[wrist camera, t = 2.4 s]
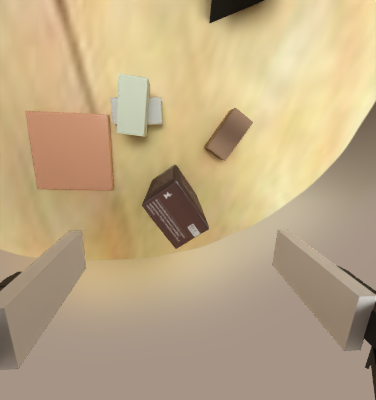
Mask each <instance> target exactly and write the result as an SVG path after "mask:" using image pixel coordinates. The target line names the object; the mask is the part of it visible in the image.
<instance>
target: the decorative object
mask: <svg viewBox="0 0 376 400" xmlns="http://www.w3.org/2000/svg"><path fill="white" fill-rule="evenodd" d="M262 1H264V0H212V4H211V14H210V23H212V22H214V21H217V20H219V19H221V18H224V17H226V16H228V15H231V14H233V13H236V12H238V11H240V10H243V9H245V8H247V7H250V6H252V5H255V4H257V3H259V2H262Z"/></svg>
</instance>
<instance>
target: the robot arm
mask: <svg viewBox="0 0 376 400" xmlns="http://www.w3.org/2000/svg"><path fill="white" fill-rule="evenodd" d="M272 265H273V266H274V267H275V268H276V270H277V271H278V272H279V273H280V275H281V276H282V277H283V278H284V279H285V281H286V282H287V283H288V284H289V286H290V287H291V288H292V289H293V290H294V292H295V293H296V294H297V295H298V296H299V297H300V299H301V300H302V301H303V302H304V303H305V305H306V306H307V307H308V308H309V309H310V311H311V312H312V313H313V314H314V316H315V317H316V318H317V319H318V320H319V321H320V322H321V324H322V325H323V326H324V327H325V329H326V330H327V331H328V332H329V333H330V335H331V336H332V337H333V338H334V339H335V341H336V342H337V343H338V344H339V346H340V347H341V348H342V349H343V350H344V351H352V350H361V347H362V344H363V340H364V339H365V340H366V341H367V342H368V343H369V344H370V345H371V346H372V347H371V350H370V353H369V357H368V359H367V363H366V366H365V368H367V369H369V366H370V365H371V368H372V376H373V385H374V393H375V400H376V291H375V290H373V289H372V288H371V287H369V286H368V285H366V284H365V283H363V282H362V281H361V280H360V279H358V278H356V277H355V276H354V275H353V274H351V273H350V272H349V271H347V270H345V269H343V268H341V267H339V266H337V265H335V264H333V263H332V262H331V261H329V260H328V259H327V258H325V257H324V256H323V255H321V254H320V253H319V252H317V251H316V250H315V249H313V248H312V247H310V246H309V245H308V244H306V243H305V242H304V241H302V240H301V239H300V238H298V237H297V236H296V235H294V234H293V233H292V232H290V231H289V230H278V231H277V238H276V244H275V251H274V258H273V264H272ZM85 269H86V264H85V254H84V245H83V235H82V231H69V232H67V233H66V234H65V235H64V236H63V237H62V238H61V239H59V240H58V241H57V242H56V243H55V244H54V245H53V246H51V247H50V248H49V249H48V250H47V251H46V252H45V253H43V254H42V255H41V256H40V257H39V258H38V259H37V260H36V261H34V262H33V263H32V264H31V265H30V266H29V267H27V268H26V269H25V270H24V271H23V272H17V273H15V274H13V275H11V276H9V277H7V278H6V279H5V280H3V281H2V282H1V283H0V370H10V369H19V368H20V366H21V365H22V363H23V362H24V360H25V359H26V357H27V356H28V354H29V353H30V351H31V350H32V348H33V347H34V345H35V344H36V342H37V341H38V339H39V338H40V336H41V335H42V333H43V332H44V330H45V329H46V327H47V326H48V324H49V323H50V321H51V320H52V318H53V317H54V315H55V314H56V312H57V311H58V309H59V308H60V306H61V305H62V303H63V302H64V300H65V299H66V297H67V296H68V294H69V293H70V291H71V290H72V288H73V287H74V285H75V284H76V282H77V281H78V280H79V278H80V277H81V275H82V273H83V272H84V271H85Z"/></svg>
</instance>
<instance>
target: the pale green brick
mask: <svg viewBox="0 0 376 400" xmlns="http://www.w3.org/2000/svg"><path fill="white" fill-rule="evenodd" d="M149 95H150V83H149V81H148V78H145V77H139V76H132V75H126V74H120V73H119V79H118V108H117V133H121V134H128V135H136V136H144V137H147V124H148V109H149Z"/></svg>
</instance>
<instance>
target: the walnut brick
mask: <svg viewBox="0 0 376 400" xmlns="http://www.w3.org/2000/svg"><path fill="white" fill-rule="evenodd" d="M252 123H253V122H252V121H251V120H250V119H249V118H247V117H246V116H245V115H244V114H243V113H241V112H240V111H239V110H238V109H237V108H234V109H232V110H230V111H229V112H228V114H227V115H226V117H225V118H224V120H223V121H222V122H221V124H220V125H219V127H218V128H217V129H216V131H215V132H214V134H213V135H212V137H211V138H210V139H209V141H208V142H207V144H206V145H205V148H206V149H208V150H209V151H210V152H212V153H213V154H214V155H216V156H217V157H218V158H220V159H222V160H226V159H227V157H228V156H229V155H230V153H231V152H232V151H233V149H234V148H235V147H236V145H237V144H238V142H239V141H240V140H241V138H242V137H243V136H244V134H245V133H246V132H247V130H248V129H249V127H250V126H251V125H252Z"/></svg>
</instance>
